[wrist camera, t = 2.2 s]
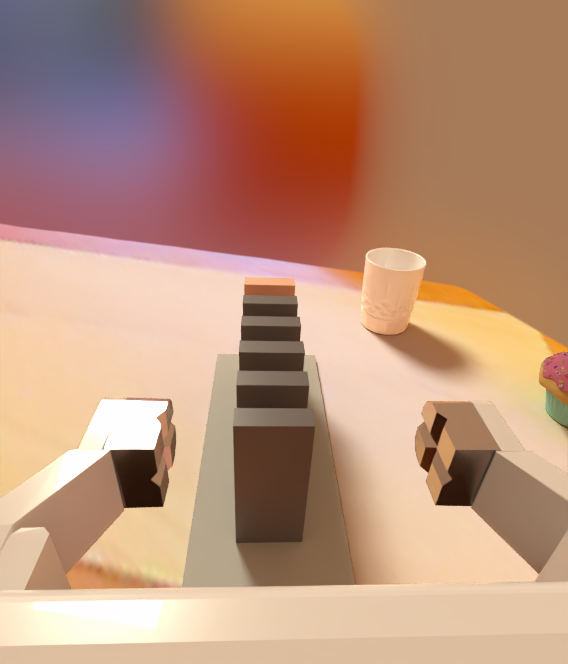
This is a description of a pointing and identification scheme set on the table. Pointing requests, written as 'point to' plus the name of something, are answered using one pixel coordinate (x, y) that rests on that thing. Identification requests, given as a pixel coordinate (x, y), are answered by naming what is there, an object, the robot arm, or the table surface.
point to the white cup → (390, 289)
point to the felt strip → (219, 507)
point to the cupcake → (556, 386)
